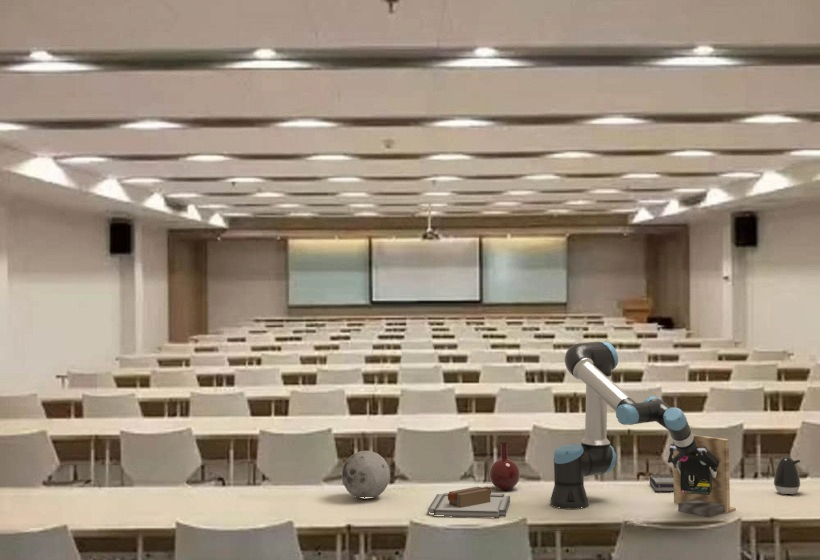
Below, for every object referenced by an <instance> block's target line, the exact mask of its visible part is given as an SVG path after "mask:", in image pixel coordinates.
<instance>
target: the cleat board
mask: <svg viewBox="0 0 820 560" xmlns="http://www.w3.org/2000/svg"><path fill="white" fill-rule="evenodd" d="M693 437H694V439H695V441H696V444H697V447H699V448H703V447H706V448H707V450H708V451H709V452H710V453H711V454H712V455H714V456H715V457H716V458H717V459H718V460H719V461H720V462H719V466H718V467H717V474H716V478H713V476H712V490H711V492H710V494H709V495H704V494H689V493H681V475H680V473H679V471H678V469H677V468H675V466H674V464H673V463H672V465H673V466H672V468H673V469H672V471H673V472H672V473H673V474H672V475H674V493H673V504H677V510H678V512H681V513H682V512H683V513H686V514H687V513H688V514H693V515H698V516H703V517H707V518H711V517H715V516H718V514H719V515H722V514H728V512H729V513H732V512H735V510H737V509H736V507H733V506H731V496H730V493H731V492H730V488H731V487H730V444H729V443H730V439H729V438H723V437H722V438H720V437H712V436H707V435H706V436H705V435H698V434H693ZM672 444H673V445H674V446H675V444H674V442H673V441H672ZM678 453H679V452H678V451H677V450H676V451H674V453H673V456H672V458H674V456H676V455H677V454H678ZM680 462H681V459H680ZM731 511H732V512H731ZM724 512H725V513H724Z"/></svg>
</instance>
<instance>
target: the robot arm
mask: <svg viewBox="0 0 820 560" xmlns="http://www.w3.org/2000/svg"><path fill="white" fill-rule="evenodd" d="M618 363H619V356H618V351H617V350H616V348H615V347H614V345H612V344H611V343H610V342H607V341H592V342H578V343H575V344H573V345H571V346H569V348H568V349H567V350H566V353H565V356H564V364H565V367H566V369H567V370H568V373H570V375H572V376H573V378H575V379H576V380H581V381H582V382H583V383H584V384H585V419H584V420H585V421H584V422H585V425H584V432H585V433H584V437H583V438H582V439H581V441H580V444H575V443H572V444H564V445H560V446H558V447H556V448H555V450H554V452H553V471H554V473H553V474H554V475H553V476H554V477H553V479H554V485H553V489H552V493H551V496H550V506H551V505H553V506H555V507H554V508H557V507H560V508H559V509H563V508H579V509H582V508H581V507H584V508H586V507H585V506H587V507H589V502H590V501H589V497H588V495H587V492H586V489H585V483H584V481H585V479H584V477H589V476H590V477H591V476H596V475H598V476H601V475H605V474H606V473H607V474H608V473H610V472H611V471H612V470H613V469H614V467H615V466H616V461H617V454H616V451H615V449H614V446H612V445H611V441H610V440H609V439H608V437H607V432H608V431H607V430H608V428H607V427H608V425H607V424H608V418H607V417H608V405H609V407H610V408H611V409H613V411H615V417H616V419H617V422H618V423H620V425H624V426H625V425H627V426H633V425H638V424H644V423H645V424H646V423H654V422H656V423H657V424H658V425H660V426H662V427H663V428H665V429H666V431H668V432H669V435H670V437H671V440H672V443H670V447H669V455H668V458H667V463H668V464H671V463H672V465H673V464H674V466H675V468H677V469H678V471H679V473H680V475H681V462H680V459H681V458H682V457H683V456H686V457H694V458H696V459H699V460H701V461H702V462H704V463H705V464H707V465H708V466H710V467H709V469H710V471H711V473H712V476H713V478H716V474H717V467H718V466H719V462H720V461H719V460H718V459H717V458H716V457H715V456H714V455H712V454H711V453H710V452H709V451H708V450H707V448H706V447H703V448H699V447H697V444H696V441H695V439H694V437H693V435H694V434H693V432H692V429H691V428H690V425H689V422H688V419H687V417H686V415H685V413H684V412H683V410H682V409H681V408H678V407H672V406H670V405H669V404H668V403H666V402H665V401H663V400H662V399H660V398H659V397H657V396H653V395H651V396H648V398H645V399H644V400H643V402H636V401H635V400H634V399H632V398H631V397H630V396H629V395H628V394H627V393H626V392H625V391H624V390H622V389H621V388H620V387H619V386H618V385H617V384H616V383H614V382H613V381H612V380H611V379H610V378H611V377H612V373H613V370H615V369H616V367H617V366H618ZM673 442H674V444H675V446H674V445H673ZM676 450H677V451H678V452H679V453H678V454H677V455H676V456H674V458H673V453H674V451H676ZM696 455H697V456H696ZM553 506H552V507H553Z"/></svg>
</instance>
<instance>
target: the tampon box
mask: <svg viewBox="0 0 820 560" xmlns="http://www.w3.org/2000/svg"><path fill="white" fill-rule="evenodd" d="M696 456H697V455H696ZM709 467H710V466H708V465H707V464H705V463H704V462H702V461H701V460H699V459H696V458H694V457H686V456H683V457H682V458H681V493H689V494H704V495H709V494H710V492H711V490H712V473H711V471H710V469H709Z"/></svg>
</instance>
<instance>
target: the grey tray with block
mask: <svg viewBox="0 0 820 560" xmlns="http://www.w3.org/2000/svg"><path fill="white" fill-rule="evenodd" d="M509 503H510V504H511V495H505V494H504V493H492V487H489V486H484V487H482V486H475V487H469V488H463V489H458V490H451V491H449V492H444V493H442V494H441V493H440V494H439V493H438V494H437V493H436V496H435V497H434V499H433V501H432V502H431V503H430V505H429V507H428V509H427V513H428V512H430V513H434V515H444V516H452V517H451V518H466V517H494V518H493V519H499V516H504V517H503V518H506V517H507V514H506V513H508V510H509V507H510V504H509ZM434 515H433V516H434Z"/></svg>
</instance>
